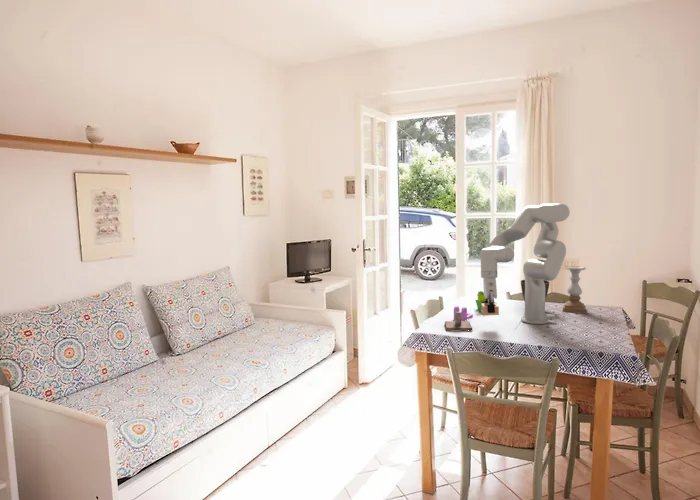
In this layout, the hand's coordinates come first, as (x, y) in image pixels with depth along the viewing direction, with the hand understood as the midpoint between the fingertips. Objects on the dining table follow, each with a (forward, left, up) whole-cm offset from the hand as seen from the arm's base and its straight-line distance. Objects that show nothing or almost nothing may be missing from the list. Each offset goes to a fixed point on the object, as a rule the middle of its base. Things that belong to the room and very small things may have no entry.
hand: (489, 310), depth 234 cm
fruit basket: (-3, -38, -9) cm, 39 cm away
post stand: (+15, -2, -9) cm, 17 cm away
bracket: (+10, -21, -9) cm, 25 cm away
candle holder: (-51, -40, -9) cm, 65 cm away
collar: (0, 0, -1) cm, 1 cm away
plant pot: (-30, -40, -9) cm, 51 cm away
